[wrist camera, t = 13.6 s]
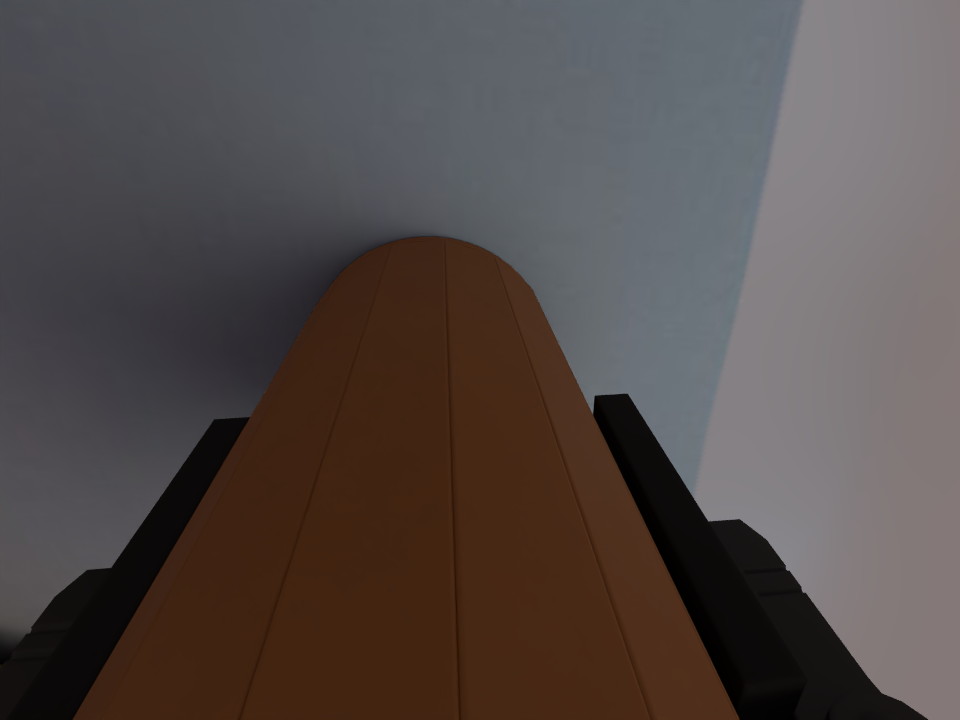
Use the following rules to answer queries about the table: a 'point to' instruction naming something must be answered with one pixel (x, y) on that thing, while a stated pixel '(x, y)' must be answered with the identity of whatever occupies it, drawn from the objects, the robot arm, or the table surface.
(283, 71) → the table surface
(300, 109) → the table surface
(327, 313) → the brown bottle
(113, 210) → the table surface
